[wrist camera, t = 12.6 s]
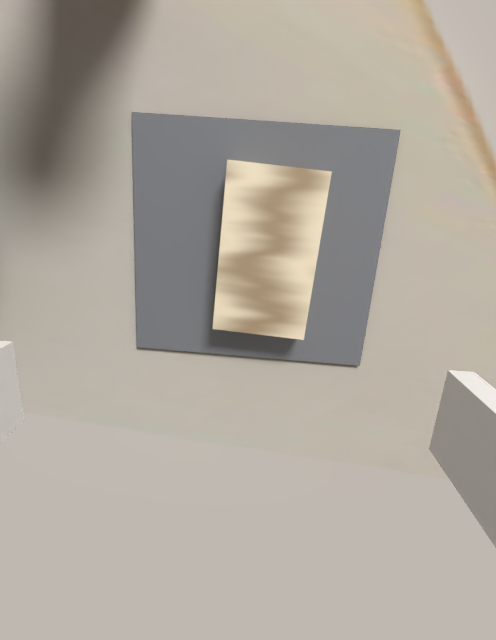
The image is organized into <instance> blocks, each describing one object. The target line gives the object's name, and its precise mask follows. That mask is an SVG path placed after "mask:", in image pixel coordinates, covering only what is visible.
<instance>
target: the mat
mask: <svg viewBox="0 0 496 640" xmlns="http://www.w3.org/2000/svg"><path fill="white" fill-rule="evenodd" d="M399 136H400V130H393V129H378V128H363V127H348V126H333V125H318V124H303V123H288V122H273V121H258V120H243V119H228V118H213V117H198V116H183V115H168V114H153V113H138V112H132V147H133V193H134V239H135V285H136V331H137V347H140V348H152V349H164V350H176V351H188V352H200V353H212V354H224V355H236V356H248V357H260V358H272V359H284V360H296V361H308V362H320V363H332V364H344V365H356V366H360V361H361V355H362V349H363V343H364V338H365V332H366V326H367V320H368V315H369V309H370V303H371V297H372V292H373V286H374V280H375V274H376V269H377V263H378V257H379V251H380V245H381V240H382V234H383V228H384V222H385V217H386V211H387V205H388V199H389V194H390V188H391V182H392V176H393V171H394V165H395V159H396V153H397V148H398V142H399ZM227 160H236V161H245V162H253V163H262V164H271V165H279V166H288V167H297V168H305V169H314V170H323V171H331V172H332V174H331V180H330V186H329V192H328V198H327V204H326V210H325V216H324V222H323V228H322V234H321V240H320V246H319V252H318V258H317V264H316V270H315V276H314V282H313V288H312V294H311V300H310V306H309V311H308V317H307V323H306V329H305V335H304V340H300V339H291V338H283V337H275V336H267V335H258V334H250V333H242V332H234V331H226V330H217V329H212V328H213V317H214V306H215V294H216V283H217V271H218V260H219V248H220V237H221V226H222V214H223V203H224V191H225V180H226V168H227Z"/></svg>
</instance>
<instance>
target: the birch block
mask: <svg viewBox="0 0 496 640" xmlns="http://www.w3.org/2000/svg"><path fill="white" fill-rule="evenodd" d="M331 174H332V172H331V171H323V170H314V169H305V168H297V167H288V166H279V165H271V164H262V163H253V162H245V161H236V160H227V168H226V180H225V191H224V203H223V214H222V226H221V237H220V248H219V260H218V271H217V283H216V294H215V306H214V317H213V328H212V329H217V330H226V331H234V332H242V333H250V334H258V335H267V336H275V337H283V338H291V339H300V340H304V335H305V329H306V323H307V317H308V311H309V306H310V300H311V294H312V288H313V282H314V276H315V270H316V264H317V258H318V252H319V246H320V240H321V234H322V228H323V222H324V216H325V210H326V204H327V198H328V192H329V186H330V180H331Z"/></svg>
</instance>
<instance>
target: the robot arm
mask: <svg viewBox="0 0 496 640" xmlns="http://www.w3.org/2000/svg"><path fill="white" fill-rule="evenodd" d="M23 421H24V414H23V408H22V401H21V394H20V387H19V381H18V374H17V367H16V360H15V353H14V347H13V342H11V341H0V442H1V441H2V440H4V439H5V438H6V437H7V436H8V435H9V434H10V433H11V432H12V431H13V430H14V429H16V428H17V427H18V426H19V425H20V424H21V423H22V422H23ZM429 449H430V451H431V452H432V454H433V455H434V457H435V458H436V460H437V461H438V463H439V464H440V466H441V467H442V469H443V470H444V472H445V473H446V475H447V476H448V478H449V479H450V481H451V482H452V483H453V485H454V486H455V488H456V489H457V491H458V492H459V494H460V495H461V497H462V498H463V500H464V501H465V503H466V504H467V506H468V507H469V509H470V510H471V512H472V513H473V515H474V516H475V518H476V519H477V521H478V522H479V523H480V525H481V526H482V528H483V529H484V531H485V532H486V534H487V535H488V537H489V538H490V540H491V541H492V543H493V544H494V546H495V547H496V389H494V388H493V387H492V386H491V385H489V384H488V383H487V382H486V381H485V380H483V379H482V378H481V377H480V376H478V375H477V374H476V373H475V372H466V371H451V370H448V372H447V376H446V381H445V385H444V389H443V393H442V397H441V401H440V406H439V410H438V414H437V418H436V422H435V426H434V431H433V435H432V439H431V443H430V447H429Z"/></svg>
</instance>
